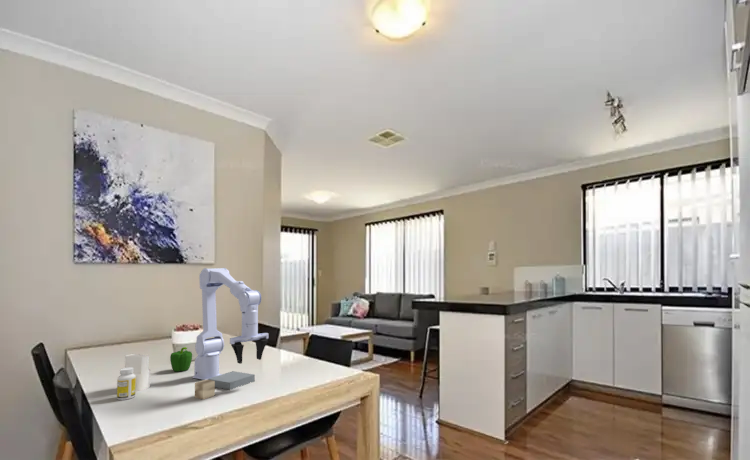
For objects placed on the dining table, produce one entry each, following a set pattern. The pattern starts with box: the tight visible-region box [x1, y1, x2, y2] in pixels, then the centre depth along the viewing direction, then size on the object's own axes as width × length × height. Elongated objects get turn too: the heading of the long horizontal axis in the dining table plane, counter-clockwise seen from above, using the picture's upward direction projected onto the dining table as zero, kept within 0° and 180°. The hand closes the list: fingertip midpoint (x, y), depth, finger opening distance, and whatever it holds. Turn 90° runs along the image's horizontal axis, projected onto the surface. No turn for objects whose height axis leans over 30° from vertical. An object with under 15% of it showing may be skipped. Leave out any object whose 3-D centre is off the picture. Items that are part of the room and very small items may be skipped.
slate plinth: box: [208, 370, 256, 390], centre depth 153 cm, size 12×12×2 cm
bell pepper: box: [169, 346, 193, 372], centre depth 174 cm, size 8×8×10 cm
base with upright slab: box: [124, 353, 151, 393], centre depth 150 cm, size 9×9×12 cm
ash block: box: [194, 379, 216, 400], centre depth 138 cm, size 4×4×5 cm
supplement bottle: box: [116, 367, 136, 401], centre depth 139 cm, size 5×5×10 cm
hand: (249, 361), depth 147 cm, fingers open, 7 cm apart
